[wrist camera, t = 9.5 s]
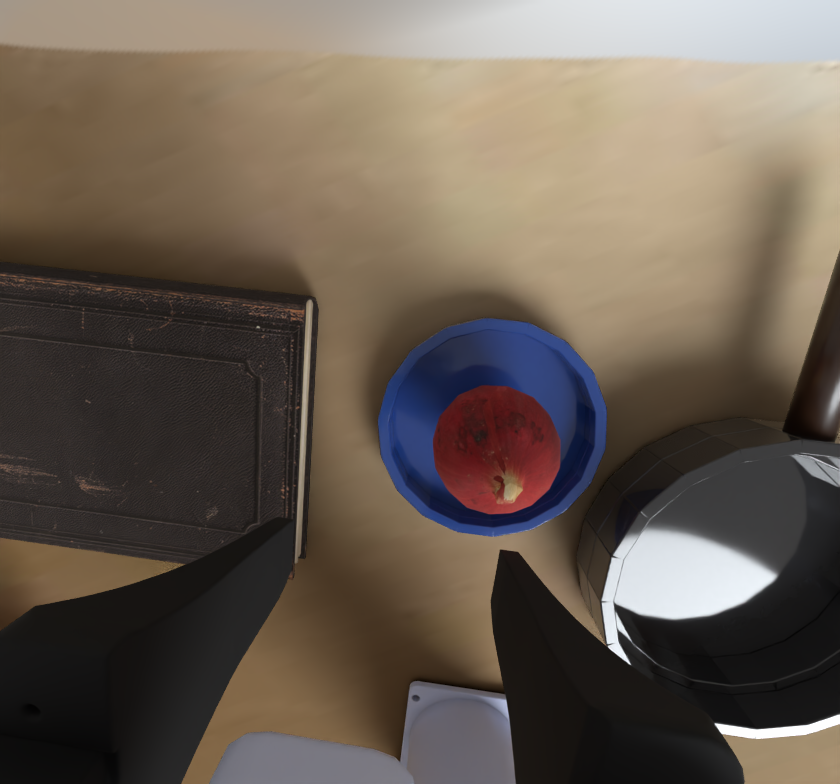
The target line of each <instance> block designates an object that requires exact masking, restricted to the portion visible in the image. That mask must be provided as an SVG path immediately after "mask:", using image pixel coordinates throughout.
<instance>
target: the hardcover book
mask: <svg viewBox="0 0 840 784" xmlns="http://www.w3.org/2000/svg"><path fill="white" fill-rule="evenodd" d="M318 311H319V309H318V304H317V301H316V299H315V298H314V297H312V296H305V295H296V294H287V293H278V292H269V291H260V290H251V289H242V288H233V287H224V286H215V285H206V284H197V283H188V282H179V281H170V280H161V279H152V278H143V277H134V276H125V275H116V274H106V273H97V272H88V271H79V270H70V269H61V268H52V267H43V266H34V265H25V264H16V263H7V262H0V538H6V539H13V540H20V541H27V542H34V543H41V544H48V545H55V546H62V547H69V548H76V549H83V550H90V551H97V552H104V553H111V554H118V555H125V556H132V557H138V558H145V559H152V560H159V561H166V562H173V563H180V564H188V563H191V562H193V561H195V560H197V559H199V558H202V557H204V556H206V555H208V554H210V553H212V552H214V551H216V550H218V549H220V548H222V547H224V546H225V545H227V544H229V543H231V542H233V541H235V540H237V539H238V538H240V537H242V536H244V535H246V534H247V533H249V532H251V531H253V530H254V529H256V528H258V527H260V526H261V525H263V524H265V523H267V522H268V521H270V520H272V519H274V518H276V517H282V518H289V519H294V536H293V554H292V571H291V573H290V575H289V578H288V579H291V580H293V578H294V572H295V563H297V562H298V558H301V559H305V557H306V544H307V524H308V505H309V485H310V466H311V446H312V427H313V408H314V388H315V369H316V349H317V330H318Z"/></svg>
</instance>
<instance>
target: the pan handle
mask: <svg viewBox="0 0 840 784" xmlns="http://www.w3.org/2000/svg"><path fill="white" fill-rule="evenodd" d="M839 429H840V251H839V254H838V257H837V260H836V263H835V266H834V270H833V273H832V276H831V279H830V282H829V285H828V288H827V291H826V295H825V298H824V301H823V304H822V307H821V310H820V313H819V316H818V320H817V323H816V326H815V329H814V332H813V335H812V338H811V341H810V345H809V348H808V351H807V354H806V357H805V360H804V363H803V367H802V370H801V373H800V376H799V379H798V382H797V385H796V388H795V392H794V395H793V398H792V401H791V404H790V407H789V410H788V413H787V417H786V420H785V423H784V426H783V430H785V431H787V432H790V433H793V434H797V435H800V436H804V437H809V438H814V439H819V440H826V441H835V440H836V438H837V435H838V432H839Z"/></svg>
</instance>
